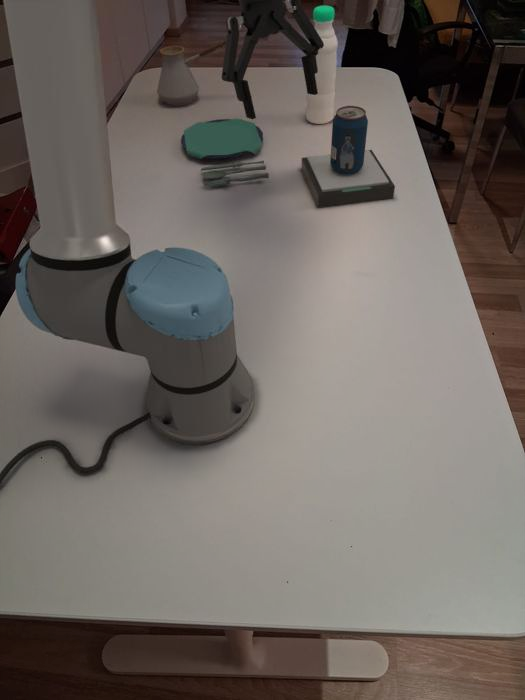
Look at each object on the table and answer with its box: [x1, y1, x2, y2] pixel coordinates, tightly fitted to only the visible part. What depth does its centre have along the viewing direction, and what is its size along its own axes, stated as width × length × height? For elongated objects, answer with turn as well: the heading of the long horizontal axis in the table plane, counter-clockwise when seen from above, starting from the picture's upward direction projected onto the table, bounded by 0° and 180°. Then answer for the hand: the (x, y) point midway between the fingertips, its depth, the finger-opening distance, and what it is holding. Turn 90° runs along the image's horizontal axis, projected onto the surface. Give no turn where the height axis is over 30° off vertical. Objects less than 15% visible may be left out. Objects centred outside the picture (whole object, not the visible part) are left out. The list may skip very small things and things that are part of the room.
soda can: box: [330, 105, 369, 175], centre depth 109 cm, size 7×7×12 cm
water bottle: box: [305, 5, 339, 125], centre depth 129 cm, size 7×7×25 cm
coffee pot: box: [156, 39, 227, 107], centre depth 144 cm, size 21×12×15 cm, turn 86°
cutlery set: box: [180, 118, 270, 188], centre depth 126 cm, size 20×30×2 cm, turn 9°
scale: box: [300, 149, 396, 209], centre depth 115 cm, size 16×16×3 cm
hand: (282, 105), depth 102 cm, fingers open, 13 cm apart
